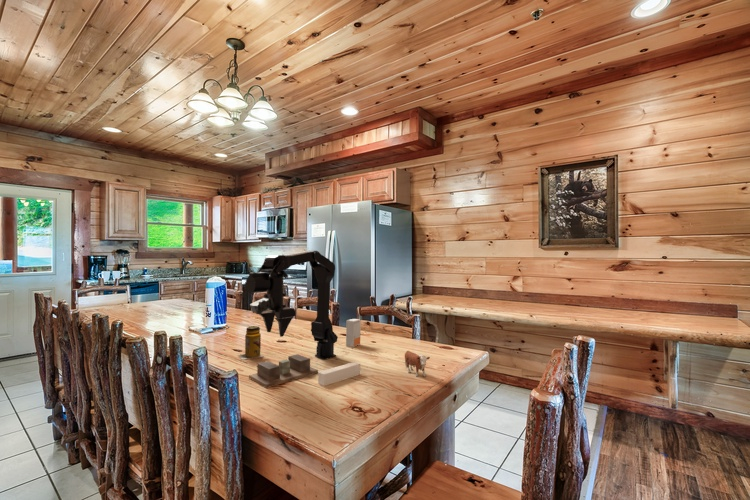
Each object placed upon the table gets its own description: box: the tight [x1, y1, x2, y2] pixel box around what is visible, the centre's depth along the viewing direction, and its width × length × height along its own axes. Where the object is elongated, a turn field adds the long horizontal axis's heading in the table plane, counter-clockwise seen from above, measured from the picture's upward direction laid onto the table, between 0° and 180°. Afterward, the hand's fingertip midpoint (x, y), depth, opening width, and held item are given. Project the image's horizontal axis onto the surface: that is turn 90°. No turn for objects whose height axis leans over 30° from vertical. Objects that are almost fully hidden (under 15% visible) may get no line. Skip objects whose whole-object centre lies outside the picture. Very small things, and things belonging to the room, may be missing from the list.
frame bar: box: [317, 361, 361, 387], centre depth 119 cm, size 16×3×4 cm, turn 135°
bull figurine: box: [404, 350, 431, 378], centre depth 123 cm, size 4×13×8 cm, turn 25°
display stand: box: [248, 353, 319, 389], centre depth 121 cm, size 20×12×5 cm, turn 135°
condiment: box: [237, 325, 264, 361], centre depth 144 cm, size 7×8×12 cm
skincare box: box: [345, 318, 362, 348], centre depth 162 cm, size 6×4×12 cm
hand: (275, 334), depth 123 cm, fingers open, 9 cm apart
